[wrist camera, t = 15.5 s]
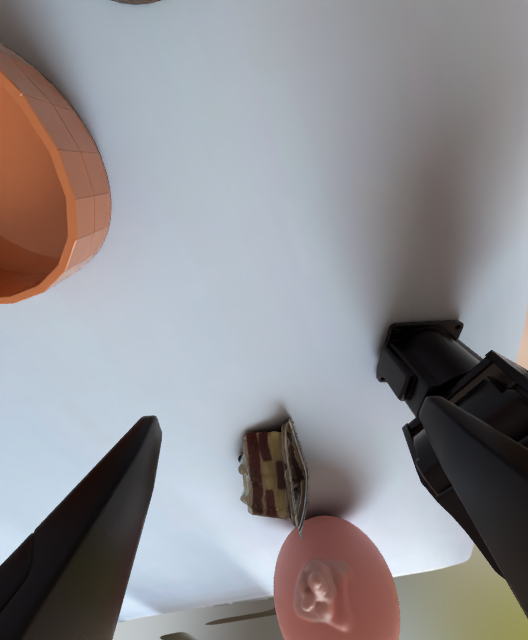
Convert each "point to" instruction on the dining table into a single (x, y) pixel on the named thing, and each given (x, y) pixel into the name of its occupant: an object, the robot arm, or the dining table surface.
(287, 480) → the chocolate cake
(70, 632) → the robot arm
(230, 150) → the dining table surface
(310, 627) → the balloon
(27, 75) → the orange bowl
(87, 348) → the dining table surface
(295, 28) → the dining table surface
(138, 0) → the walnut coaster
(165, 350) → the dining table surface
